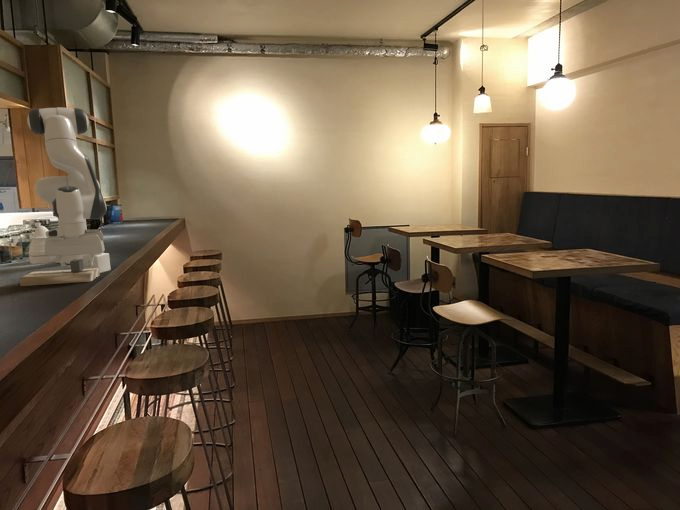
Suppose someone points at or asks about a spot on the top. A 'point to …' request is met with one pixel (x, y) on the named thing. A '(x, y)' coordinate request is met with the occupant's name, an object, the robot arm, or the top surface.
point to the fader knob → (77, 265)
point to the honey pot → (39, 246)
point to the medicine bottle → (98, 262)
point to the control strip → (59, 276)
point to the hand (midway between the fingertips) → (77, 266)
